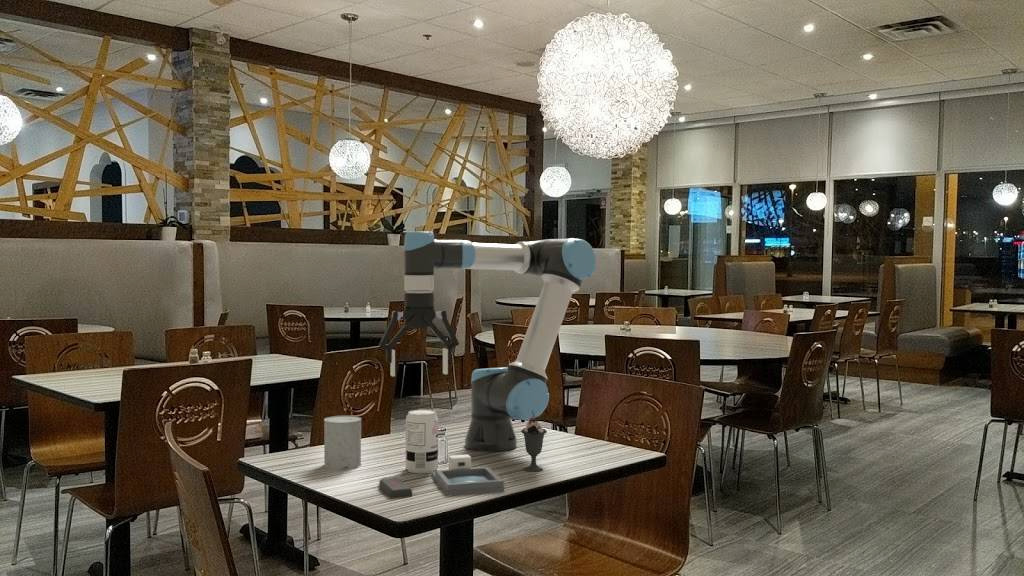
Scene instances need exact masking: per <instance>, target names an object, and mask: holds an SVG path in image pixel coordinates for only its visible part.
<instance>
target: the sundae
mask: <svg viewBox="0 0 1024 576" xmlns="http://www.w3.org/2000/svg"><path fill="white" fill-rule="evenodd" d="M532 413H533V411H532ZM533 414H534V413H533ZM520 432H521V434H523V436H524V444H525V451H526V453H527V454H528V455H529V456H530V457H531V458H530V460H531V461H530V465H529V466H525V467H524V468H523V470H524V471H526V472H529V473H537V472H542V471H543V470H544V468H543V467H541V466H539V465H537V457H538V456H539V455H540V454H541V453H542V449H543V443H544V437H545V435H546V434H547V433H548V431H547V429H545V428H543V427H541V425H540V423H539V422H538V421H537V419H536V418H535V416H534V418H533V416H532V418H530V420H528V422H527V423H526V426H525V427H524V428H523V429H522V430H521V431H520Z"/></svg>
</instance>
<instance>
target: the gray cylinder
mask: <svg viewBox="0 0 1024 576" xmlns="http://www.w3.org/2000/svg"><path fill="white" fill-rule="evenodd" d="M323 421H324V422H323V423H324V427H323V428H324V431H323V432H324V435H323V436H324V437H323V438H324V440H323V441H324V444H323V445H324V450H323V451H324V458H323V459H324V465H323V467H324V468H325V469H328V470H336V471H337V470H339V471H341V470H353V469H357V468H359V467H361V466H362V417H361V416H356V415H335V416H329V417H325V418H324V419H323Z"/></svg>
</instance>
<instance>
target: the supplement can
mask: <svg viewBox="0 0 1024 576" xmlns="http://www.w3.org/2000/svg"><path fill="white" fill-rule="evenodd" d="M407 413H408V414H406V417H405V469H406V470H407V471H408V472H409V473H413V474H431V472H435V470H438V468H439V417H438V415H437V413H436V411H435V410H431V409H414V410H409V411H408V412H407Z"/></svg>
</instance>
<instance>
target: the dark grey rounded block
mask: <svg viewBox="0 0 1024 576" xmlns="http://www.w3.org/2000/svg"><path fill="white" fill-rule="evenodd" d="M378 481H379V482H378V483H379V484H378V485H379V489H378V490H380V491H381V492H382V493H383V494H384V495H385V496H387V497H388V499H397V498H399V499H400V498H406V497H413V490H412V488H411V487H410V486H408V485H407V484H405V483H404V481H402V480H400V479H399V478H397V476H392V477H391V476H390V477H383V478H380V479H379V480H378Z"/></svg>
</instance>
